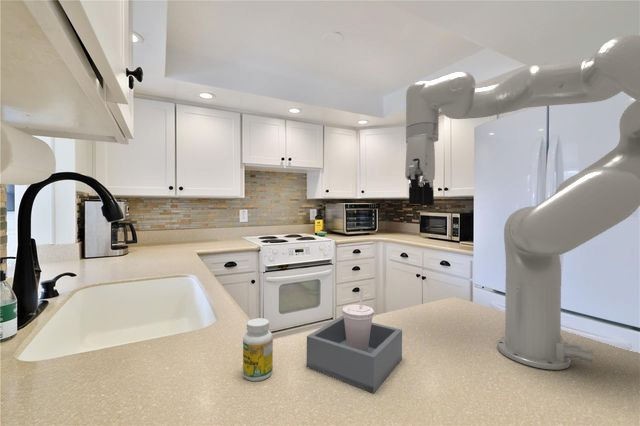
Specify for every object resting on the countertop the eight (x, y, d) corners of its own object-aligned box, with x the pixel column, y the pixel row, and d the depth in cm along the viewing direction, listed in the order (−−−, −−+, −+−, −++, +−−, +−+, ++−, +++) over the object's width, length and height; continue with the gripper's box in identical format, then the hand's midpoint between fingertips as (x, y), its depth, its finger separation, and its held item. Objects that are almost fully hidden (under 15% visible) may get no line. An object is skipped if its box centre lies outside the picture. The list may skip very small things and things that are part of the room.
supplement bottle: (278, 370, 54) (278, 320, 54) (259, 385, 49) (259, 329, 50) (256, 363, 57) (257, 314, 57) (236, 376, 52) (236, 323, 52)
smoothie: (373, 368, 54) (374, 293, 54) (339, 364, 55) (340, 290, 55) (373, 351, 60) (374, 284, 60) (343, 348, 61) (344, 282, 61)
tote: (401, 358, 59) (402, 329, 59) (373, 393, 48) (374, 357, 48) (342, 341, 67) (343, 315, 67) (306, 367, 55) (306, 336, 56)
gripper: (416, 144, 80) (416, 206, 80) (395, 128, 65) (394, 203, 65) (445, 140, 76) (445, 205, 75) (429, 123, 61) (429, 203, 61)
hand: (421, 204), depth 70 cm, fingers open, 9 cm apart
